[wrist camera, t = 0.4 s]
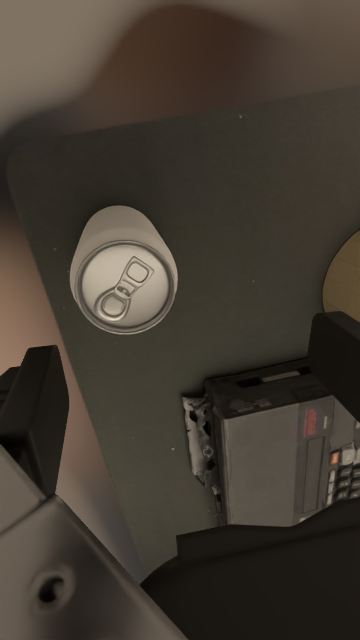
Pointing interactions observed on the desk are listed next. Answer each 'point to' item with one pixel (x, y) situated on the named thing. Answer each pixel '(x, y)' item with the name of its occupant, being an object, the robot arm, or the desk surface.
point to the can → (123, 272)
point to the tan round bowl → (344, 280)
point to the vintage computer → (273, 446)
